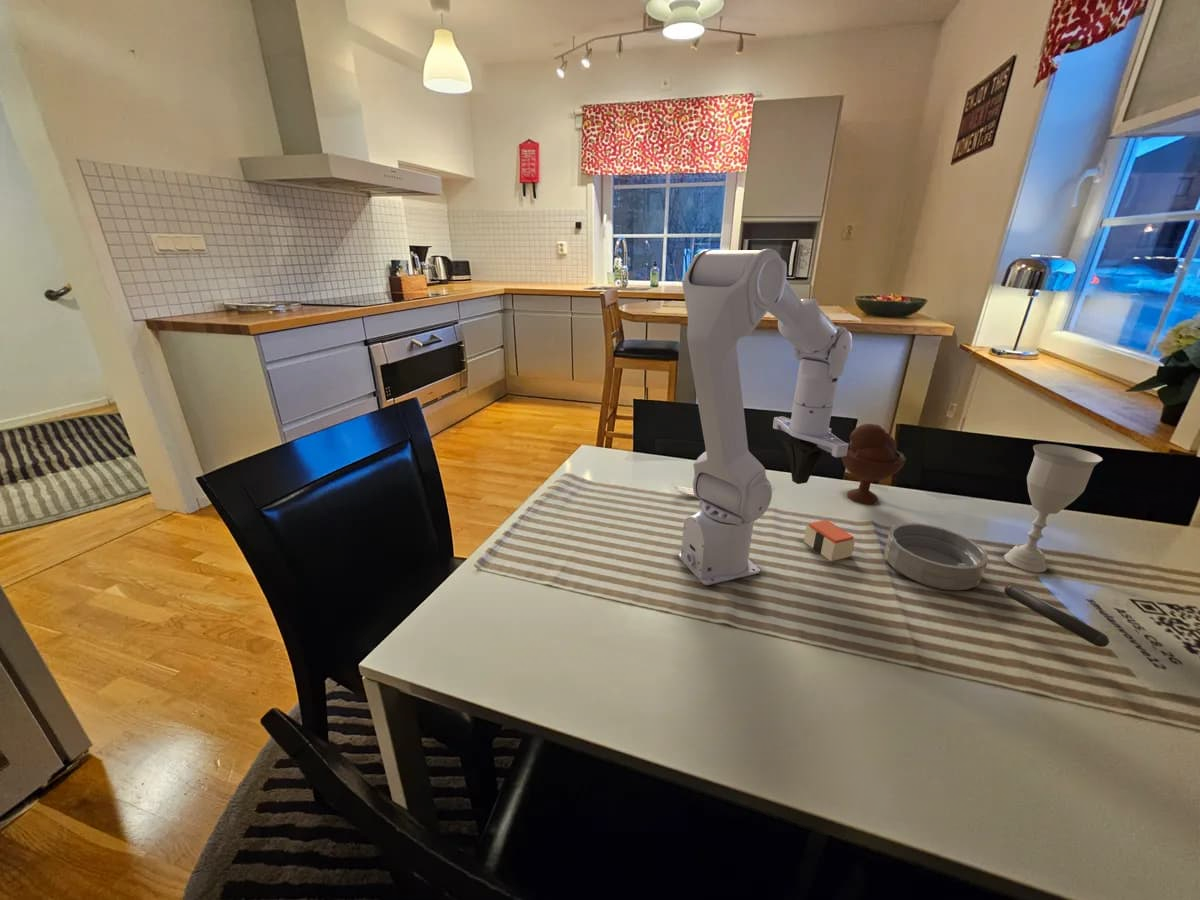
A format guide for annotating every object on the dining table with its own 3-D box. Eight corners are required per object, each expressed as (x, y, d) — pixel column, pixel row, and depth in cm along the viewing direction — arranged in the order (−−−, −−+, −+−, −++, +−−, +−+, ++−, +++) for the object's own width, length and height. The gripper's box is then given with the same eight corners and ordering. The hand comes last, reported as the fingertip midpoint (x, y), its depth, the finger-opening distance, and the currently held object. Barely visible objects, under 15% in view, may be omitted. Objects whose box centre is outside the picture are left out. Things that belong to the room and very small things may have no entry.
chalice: (999, 567, 73) (1039, 455, 67) (991, 545, 79) (1027, 440, 73) (1062, 581, 70) (1111, 466, 64) (1049, 557, 76) (1092, 449, 69)
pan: (938, 600, 66) (946, 575, 65) (865, 553, 77) (870, 530, 75) (1000, 582, 70) (1008, 558, 69) (921, 539, 81) (927, 517, 79)
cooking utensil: (770, 488, 98) (771, 480, 97) (676, 498, 93) (676, 489, 93) (761, 482, 101) (762, 473, 100) (670, 491, 96) (670, 482, 96)
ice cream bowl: (890, 517, 88) (909, 438, 82) (824, 499, 94) (838, 425, 88) (899, 496, 95) (917, 422, 90) (837, 481, 102) (851, 411, 96)
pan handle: (1100, 651, 54) (1106, 640, 54) (999, 594, 64) (1003, 584, 63) (1109, 648, 55) (1114, 636, 54) (1008, 591, 64) (1011, 581, 64)
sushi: (830, 561, 74) (835, 541, 73) (803, 541, 80) (806, 522, 78) (851, 556, 76) (856, 537, 74) (823, 537, 81) (826, 518, 80)
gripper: (870, 413, 72) (852, 496, 77) (801, 390, 84) (789, 462, 89) (832, 418, 69) (816, 503, 74) (767, 393, 82) (757, 467, 87)
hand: (799, 481), depth 82 cm, fingers closed
